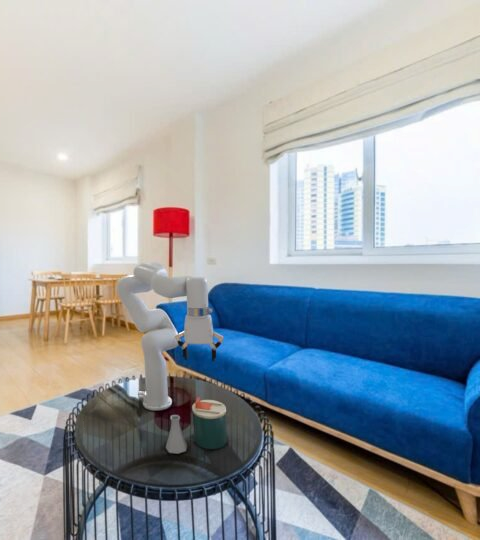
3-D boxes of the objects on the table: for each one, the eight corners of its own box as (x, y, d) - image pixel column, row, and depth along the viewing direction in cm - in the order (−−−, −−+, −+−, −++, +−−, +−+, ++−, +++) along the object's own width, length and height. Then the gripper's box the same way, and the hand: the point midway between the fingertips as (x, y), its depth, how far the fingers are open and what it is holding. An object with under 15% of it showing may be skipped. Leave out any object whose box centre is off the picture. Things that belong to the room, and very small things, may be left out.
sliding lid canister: (190, 446, 95) (188, 412, 94) (197, 427, 105) (195, 396, 105) (225, 452, 91) (223, 416, 91) (229, 431, 102) (227, 400, 101)
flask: (164, 441, 98) (163, 412, 98) (185, 439, 98) (184, 410, 98) (166, 455, 91) (165, 424, 90) (189, 453, 91) (188, 422, 91)
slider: (195, 408, 97) (195, 402, 97) (198, 403, 101) (197, 396, 101) (209, 410, 96) (209, 404, 96) (211, 404, 100) (211, 398, 100)
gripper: (222, 310, 104) (224, 357, 104) (175, 310, 108) (177, 355, 109) (222, 314, 97) (224, 364, 97) (172, 313, 101) (173, 362, 101)
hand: (199, 359), depth 103 cm, fingers open, 9 cm apart
